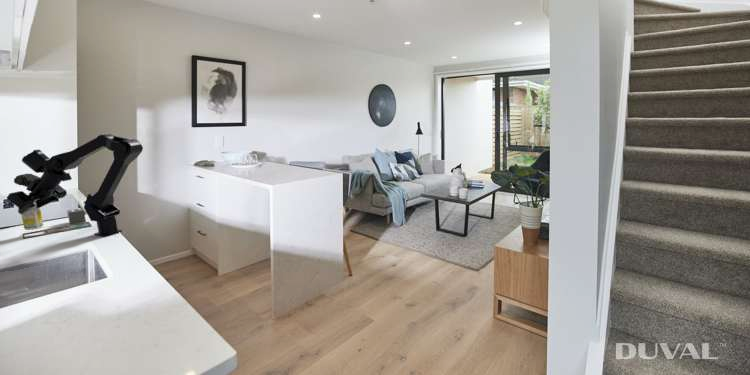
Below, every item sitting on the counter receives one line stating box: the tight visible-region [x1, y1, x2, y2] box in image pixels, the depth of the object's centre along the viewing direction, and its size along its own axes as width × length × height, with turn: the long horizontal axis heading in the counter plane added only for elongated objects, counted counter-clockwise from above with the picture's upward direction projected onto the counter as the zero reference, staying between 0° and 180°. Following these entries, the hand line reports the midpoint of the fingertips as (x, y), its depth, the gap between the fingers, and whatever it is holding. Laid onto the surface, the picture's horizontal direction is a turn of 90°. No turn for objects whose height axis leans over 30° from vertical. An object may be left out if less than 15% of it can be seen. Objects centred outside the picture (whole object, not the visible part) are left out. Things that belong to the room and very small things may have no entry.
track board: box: [22, 221, 93, 240], centre depth 143 cm, size 20×7×1 cm, turn 135°
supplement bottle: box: [20, 201, 44, 231], centre depth 137 cm, size 5×5×10 cm
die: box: [66, 207, 87, 225], centre depth 154 cm, size 5×5×6 cm
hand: (26, 211), depth 137 cm, fingers closed on supplement bottle, 5 cm apart
